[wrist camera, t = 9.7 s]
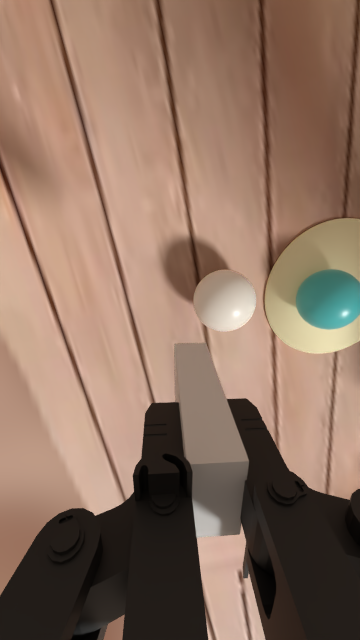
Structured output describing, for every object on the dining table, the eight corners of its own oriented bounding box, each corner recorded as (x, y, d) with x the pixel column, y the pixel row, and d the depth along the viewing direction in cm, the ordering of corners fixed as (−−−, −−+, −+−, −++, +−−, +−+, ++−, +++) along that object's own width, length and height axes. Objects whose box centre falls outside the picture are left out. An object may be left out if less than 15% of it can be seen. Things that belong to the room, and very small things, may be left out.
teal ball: (288, 265, 25) (335, 263, 26) (279, 320, 27) (324, 315, 28) (334, 277, 20) (389, 273, 21) (320, 342, 22) (371, 335, 23)
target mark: (418, 218, 25) (420, 218, 24) (378, 350, 30) (379, 351, 29) (274, 217, 24) (274, 217, 24) (257, 354, 29) (258, 355, 29)
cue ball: (180, 271, 22) (216, 262, 26) (181, 330, 24) (214, 314, 28) (238, 280, 19) (270, 268, 23) (233, 348, 21) (263, 327, 25)
